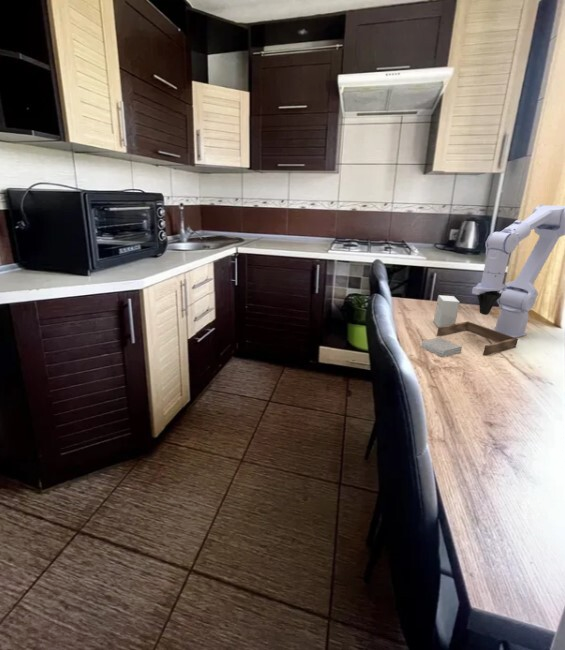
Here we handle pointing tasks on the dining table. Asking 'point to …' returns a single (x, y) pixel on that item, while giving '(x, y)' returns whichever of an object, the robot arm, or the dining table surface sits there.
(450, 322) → the small box
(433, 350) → the cover plate
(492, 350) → the brown u-shaped frame
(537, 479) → the dining table surface
